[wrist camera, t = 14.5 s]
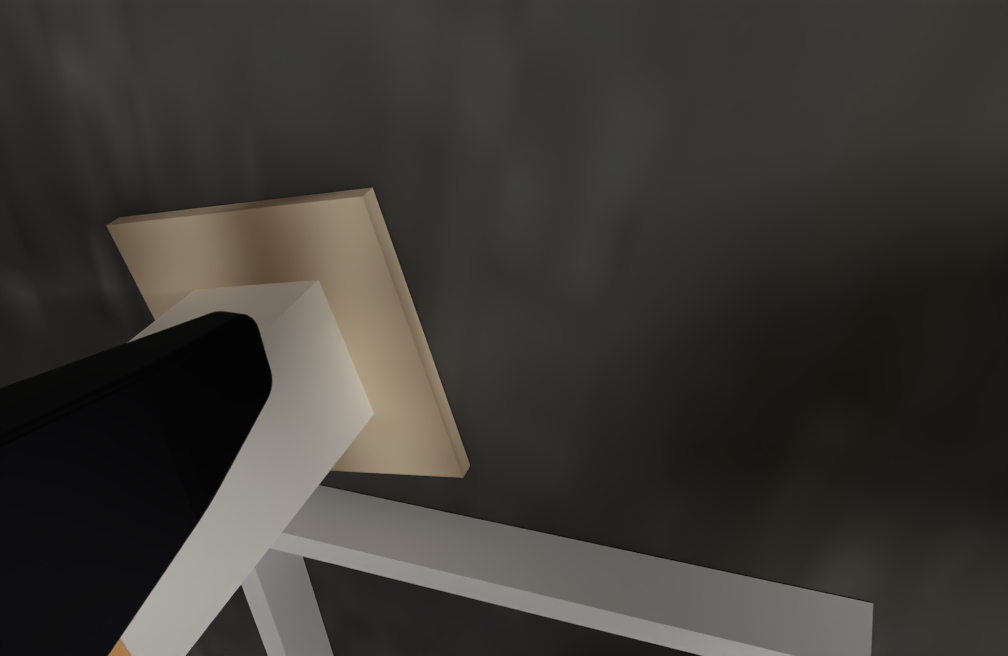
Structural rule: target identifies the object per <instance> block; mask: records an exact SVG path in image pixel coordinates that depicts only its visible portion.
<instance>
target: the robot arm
mask: <svg viewBox="0 0 1008 656" xmlns="http://www.w3.org/2000/svg"><path fill="white" fill-rule="evenodd" d="M271 389H272V372H271V369H270V365H269V362H268V358H267V355H266V351H265V348H264V345H263V341H262V338H261V334H260V331H259V328H258V325H257V323H256V322H255V321H254V319H253V318H252V317H250V316H248V315H246V314H241V313H233V312H226V311H215V312H212V313H209V314H206V315H203V316H200V317H198V318H195V319H192V320H189V321H186V322H184V323H181V324H178V325H175V326H173V327H170V328H167V329H164V330H161V331H159V332H156V333H153V334H150V335H147V336H145V337H142V338H139V339H136V340H134V341H131V342H128V343H125V344H122V345H120V346H117V347H114V348H111V349H108V350H106V351H103V352H100V353H97V354H95V355H92V356H89V357H86V358H83V359H81V360H78V361H75V362H72V363H69V364H67V365H64V366H61V367H58V368H55V369H53V370H50V371H47V372H44V373H42V374H39V375H36V376H33V377H30V378H28V379H25V380H22V381H19V382H16V383H14V384H11V385H8V386H5V387H3V388H0V656H108V655H109V654H110V652H111V651H112V649H113V648H114V646H115V645H116V644H117V642H118V641H119V639H120V638H121V636H122V635H123V633H124V632H125V630H126V629H127V627H128V626H129V624H130V623H131V621H132V620H133V618H134V617H135V616H136V614H137V613H138V611H139V610H140V608H141V607H142V605H143V604H144V602H145V601H146V599H147V598H148V596H149V595H150V593H151V592H152V590H153V589H154V588H155V586H156V585H157V583H158V582H159V580H160V579H161V577H162V576H163V574H164V573H165V571H166V570H167V568H168V567H169V565H170V564H171V562H172V561H173V560H174V558H175V557H176V555H177V554H178V552H179V551H180V549H181V548H182V546H183V545H184V543H185V542H186V540H187V539H188V537H189V536H190V534H191V533H192V532H193V530H194V529H195V527H196V526H197V524H198V523H199V521H200V520H201V518H202V516H203V515H204V513H205V512H206V510H207V509H208V507H209V506H210V504H211V502H212V500H213V499H214V497H215V495H216V493H217V492H218V490H219V488H220V486H221V485H222V483H223V481H224V479H225V477H226V475H227V474H228V472H229V470H230V468H231V466H232V464H233V462H234V461H235V459H236V457H237V455H238V453H239V451H240V450H241V448H242V446H243V444H244V442H245V440H246V439H247V437H248V435H249V433H250V431H251V429H252V428H253V426H254V424H255V422H256V420H257V418H258V416H259V415H260V413H261V411H262V409H263V407H264V405H265V404H266V402H267V400H268V398H269V396H270V393H271Z"/></svg>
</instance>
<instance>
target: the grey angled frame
mask: <svg viewBox="0 0 1008 656" xmlns="http://www.w3.org/2000/svg"><path fill="white" fill-rule="evenodd" d="M303 556H304V557H308V558H312V559H316V560H320V561H324V562H328V563H332V564H336V565H340V566H344V567H348V568H352V569H356V570H360V571H364V572H368V573H372V574H376V575H380V576H384V577H388V578H392V579H396V580H400V581H404V582H408V583H412V584H416V585H420V586H424V587H428V588H432V589H436V590H440V591H444V592H448V593H452V594H456V595H461V596H465V597H469V598H473V599H477V600H481V601H485V602H489V603H493V604H497V605H501V606H505V607H509V608H513V609H517V610H521V611H525V612H529V613H533V614H537V615H541V616H545V617H549V618H553V619H557V620H561V621H565V622H569V623H573V624H577V625H581V626H585V627H589V628H593V629H597V630H601V631H605V632H609V633H613V634H617V635H621V636H625V637H629V638H633V639H637V640H641V641H645V642H649V643H653V644H657V645H661V646H665V647H669V648H673V649H677V650H681V651H685V652H689V653H693V654H697V655H701V656H871V642H872V619H873V603H869V602H865V601H860V600H855V599H851V598H846V597H841V596H836V595H832V594H827V593H822V592H818V591H813V590H808V589H804V588H799V587H794V586H790V585H785V584H780V583H776V582H771V581H766V580H762V579H757V578H752V577H748V576H743V575H738V574H733V573H729V572H724V571H719V570H715V569H710V568H705V567H701V566H696V565H691V564H687V563H682V562H677V561H673V560H668V559H663V558H659V557H654V556H649V555H645V554H640V553H635V552H631V551H626V550H621V549H616V548H612V547H607V546H602V545H598V544H593V543H588V542H584V541H579V540H574V539H570V538H565V537H560V536H556V535H551V534H546V533H542V532H537V531H532V530H528V529H523V528H518V527H513V526H509V525H504V524H499V523H495V522H490V521H485V520H481V519H476V518H471V517H467V516H462V515H457V514H453V513H448V512H443V511H439V510H434V509H429V508H425V507H420V506H415V505H410V504H406V503H401V502H396V501H392V500H387V499H382V498H378V497H373V496H368V495H364V494H359V493H354V492H350V491H345V490H340V489H336V488H331V487H326V486H322V485H318V487H317V488H316V489H315V490H314V492H313V493H312V494H311V495H310V497H309V498H308V499H307V501H306V502H305V503H304V504H303V506H302V507H301V508H300V510H299V511H298V512H297V513H296V515H295V516H294V517H293V519H292V520H291V521H290V522H289V524H288V525H287V526H286V527H285V529H284V530H283V531H282V533H281V534H280V535H279V536H278V538H277V539H276V540H275V542H274V543H273V544H272V545H271V547H270V548H269V549H268V551H267V552H266V553H265V554H264V556H263V557H262V558H261V559H260V561H259V562H258V563H257V565H256V566H255V567H254V568H253V570H252V571H251V572H250V574H249V575H248V576H247V577H246V579H245V580H244V581H243V583H242V584H241V585H242V588H243V590H244V593H245V596H246V598H247V601H248V604H249V606H250V609H251V612H252V614H253V617H254V620H255V622H256V625H257V628H258V630H259V633H260V636H261V639H262V641H263V644H264V647H265V649H266V652H267V655H268V656H333V653H332V649H331V646H330V643H329V640H328V636H327V633H326V630H325V627H324V624H323V620H322V617H321V614H320V611H319V607H318V604H317V601H316V598H315V595H314V591H313V588H312V585H311V582H310V578H309V575H308V572H307V569H306V566H305V562H304V559H303Z"/></svg>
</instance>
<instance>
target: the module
mask: <svg viewBox="0 0 1008 656" xmlns="http://www.w3.org/2000/svg"><path fill="white" fill-rule="evenodd" d="M215 311H226V312H233V313H241V314H246V315H248V316H250V317H252V318H253V319H254V321H255V322H256V323H257V325H258V328H259V331H260V334H261V338H262V341H263V345H264V348H265V351H266V355H267V358H268V362H269V365H270V369H271V372H272V389H271V393H270V396H269V398H268V400H267V402H266V404H265V405H264V407H263V409H262V411H261V413H260V415H259V416H258V418H257V420H256V422H255V424H254V426H253V428H252V429H251V431H250V433H249V435H248V437H247V439H246V440H245V442H244V444H243V446H242V448H241V450H240V451H239V453H238V455H237V457H236V459H235V461H234V462H233V464H232V466H231V468H230V470H229V472H228V474H227V475H226V477H225V479H224V481H223V483H222V485H221V486H220V488H219V490H218V492H217V493H216V495H215V497H214V499H213V500H212V502H211V504H210V506H209V507H208V509H207V510H206V512H205V513H204V515H203V516H202V518H201V520H200V521H199V523H198V524H197V526H196V527H195V529H194V530H193V532H192V533H191V534H190V536H189V537H188V539H187V540H186V542H185V543H184V545H183V546H182V548H181V549H180V551H179V552H178V554H177V555H176V557H175V558H174V560H173V561H172V562H171V564H170V565H169V567H168V568H167V570H166V571H165V573H164V574H163V576H162V577H161V579H160V580H159V582H158V583H157V585H156V586H155V588H154V589H153V590H152V592H151V593H150V595H149V596H148V598H147V599H146V601H145V602H144V604H143V605H142V607H141V608H140V610H139V611H138V613H137V614H136V616H135V617H134V618H133V620H132V621H131V623H130V624H129V626H128V627H127V629H126V630H125V632H124V633H123V635H122V636H121V638H120V639H119V641H118V642H117V644H116V645H115V646H114V648H113V649H112V651H111V652H110V654H109V655H108V656H185V655H186V654H187V653H188V652H189V650H190V649H191V648H192V646H193V645H194V644H195V643H196V641H197V640H198V639H199V638H200V636H201V635H202V634H203V632H204V631H205V630H206V629H207V627H208V626H209V625H210V623H211V622H212V621H213V620H214V618H215V617H216V616H217V614H218V613H219V612H220V611H221V609H222V608H223V607H224V606H225V604H226V603H227V602H228V600H229V599H230V598H231V597H232V595H233V594H234V593H235V591H236V590H237V589H238V588H239V586H240V585H241V584H242V583H243V581H244V580H245V579H246V577H247V576H248V575H249V574H250V572H251V571H252V570H253V568H254V567H255V566H256V565H257V563H258V562H259V561H260V559H261V558H262V557H263V556H264V554H265V553H266V552H267V551H268V549H269V548H270V547H271V545H272V544H273V543H274V542H275V540H276V539H277V538H278V536H279V535H280V534H281V533H282V531H283V530H284V529H285V527H286V526H287V525H288V524H289V522H290V521H291V520H292V519H293V517H294V516H295V515H296V513H297V512H298V511H299V510H300V508H301V507H302V506H303V504H304V503H305V502H306V501H307V499H308V498H309V497H310V495H311V494H312V493H313V492H314V490H315V489H316V488H317V487H318V485H319V484H320V483H321V481H322V480H323V479H324V478H325V476H326V475H327V474H328V472H329V471H330V470H331V469H332V467H333V466H334V465H335V463H336V462H337V461H338V460H339V458H340V457H341V456H342V455H343V453H344V452H345V451H346V449H347V448H348V447H349V446H350V444H351V443H352V442H353V440H354V439H355V438H356V437H357V435H358V434H359V433H360V431H361V430H362V429H363V428H364V426H365V425H366V424H367V423H368V421H369V420H370V419H371V417H372V416H373V415H374V413H373V410H372V408H371V405H370V403H369V401H368V398H367V396H366V393H365V391H364V388H363V386H362V384H361V381H360V379H359V376H358V374H357V371H356V369H355V367H354V364H353V362H352V359H351V357H350V354H349V352H348V350H347V347H346V345H345V342H344V340H343V338H342V335H341V333H340V330H339V328H338V325H337V323H336V321H335V318H334V316H333V313H332V311H331V308H330V306H329V304H328V301H327V299H326V296H325V294H324V292H323V289H322V287H321V284H320V282H319V280H311V281H298V282H285V283H272V284H258V285H245V286H232V287H219V288H206V289H195V290H194V291H192V292H191V293H190V294H188V295H187V296H186V297H185V298H183V299H182V300H181V301H180V302H178V303H177V304H176V305H174V306H173V307H172V308H171V309H169V310H168V311H167V312H166V313H164V314H163V315H162V316H161V317H159V318H158V319H157V320H155V321H154V322H153V323H152V324H150V325H149V326H148V327H147V328H145V329H144V330H143V331H141V332H140V333H139V334H138V335H136V336H135V337H134V338H133V339H131V340H130V341H129V342H131V341H134V340H136V339H139V338H142V337H145V336H147V335H150V334H153V333H156V332H159V331H161V330H164V329H167V328H170V327H173V326H175V325H178V324H181V323H184V322H186V321H189V320H192V319H195V318H198V317H200V316H203V315H206V314H209V313H212V312H215ZM127 343H128V342H127Z"/></svg>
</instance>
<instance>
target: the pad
mask: <svg viewBox="0 0 1008 656" xmlns="http://www.w3.org/2000/svg"><path fill="white" fill-rule="evenodd" d="M106 226H107V228H108V230H109V232H110V234H111V236H112V238H113V240H114V241H115V243H116V245H117V247H118V249H119V251H120V253H121V255H122V257H123V259H124V261H125V263H126V265H127V267H128V269H129V271H130V272H131V274H132V276H133V278H134V280H135V282H136V284H137V286H138V288H139V290H140V292H141V294H142V296H143V298H144V300H145V302H146V303H147V305H148V307H149V309H150V311H151V313H152V315H153V317H154V319H155V320H157V319H158V318H159V317H161V316H162V315H163V314H164V313H166V312H167V311H168V310H169V309H171V308H172V307H173V306H174V305H176V304H177V303H178V302H180V301H181V300H182V299H183V298H185V297H186V296H187V295H188V294H190V293H191V292H192V291H194V290H195V289H206V288H219V287H232V286H245V285H258V284H272V283H285V282H298V281H311V280H319V282H320V284H321V287H322V289H323V292H324V294H325V296H326V299H327V301H328V304H329V306H330V308H331V311H332V313H333V316H334V318H335V321H336V323H337V325H338V328H339V330H340V333H341V335H342V338H343V340H344V342H345V345H346V347H347V350H348V352H349V354H350V357H351V359H352V362H353V364H354V367H355V369H356V371H357V374H358V376H359V379H360V381H361V384H362V386H363V388H364V391H365V393H366V396H367V398H368V401H369V403H370V405H371V408H372V410H373V413H374V415H373V416H372V417H371V419H370V420H369V421H368V423H367V424H366V425H365V426H364V428H363V429H362V430H361V431H360V433H359V434H358V435H357V437H356V438H355V439H354V440H353V442H352V443H351V444H350V446H349V447H348V448H347V449H346V451H345V452H344V453H343V455H342V456H341V457H340V458H339V460H338V461H337V462H336V463H335V465H334V466H333V467H332V469H331V470H330V471H348V472H367V473H385V474H404V475H423V476H441V477H460V478H463V477H464V475H465V474H466V472H467V470H468V469H469V467H470V464H469V461H468V458H467V455H466V452H465V449H464V446H463V444H462V441H461V438H460V435H459V432H458V429H457V427H456V424H455V421H454V418H453V415H452V412H451V409H450V407H449V404H448V401H447V398H446V395H445V392H444V390H443V387H442V384H441V381H440V378H439V375H438V372H437V370H436V367H435V364H434V361H433V358H432V355H431V352H430V350H429V347H428V344H427V341H426V338H425V335H424V333H423V330H422V327H421V324H420V321H419V318H418V315H417V313H416V310H415V307H414V304H413V301H412V298H411V295H410V293H409V290H408V287H407V284H406V281H405V278H404V276H403V273H402V270H401V267H400V264H399V261H398V258H397V256H396V253H395V250H394V247H393V244H392V241H391V238H390V236H389V233H388V230H387V227H386V224H385V221H384V219H383V216H382V213H381V210H380V207H379V204H378V201H377V199H376V196H375V193H374V190H373V187H372V188H364V189H355V190H347V191H338V192H330V193H322V194H313V195H305V196H296V197H288V198H279V199H271V200H262V201H254V202H246V203H237V204H229V205H220V206H212V207H203V208H195V209H186V210H178V211H170V212H161V213H153V214H144V215H136V216H127V217H119V218H118V219H116V220H114V221H113V222H111V223H109V224H108V225H106Z"/></svg>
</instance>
